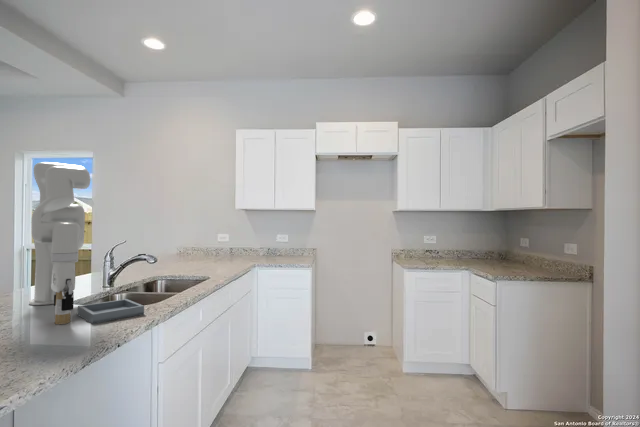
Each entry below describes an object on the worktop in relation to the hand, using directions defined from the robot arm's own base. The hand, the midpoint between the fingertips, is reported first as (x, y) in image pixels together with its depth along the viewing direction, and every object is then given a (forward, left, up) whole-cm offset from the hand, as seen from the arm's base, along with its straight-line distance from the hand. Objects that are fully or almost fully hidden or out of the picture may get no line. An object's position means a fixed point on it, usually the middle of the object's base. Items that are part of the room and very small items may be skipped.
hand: (63, 307), depth 119 cm
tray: (0, +15, -5) cm, 16 cm away
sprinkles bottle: (0, 0, -6) cm, 6 cm away
